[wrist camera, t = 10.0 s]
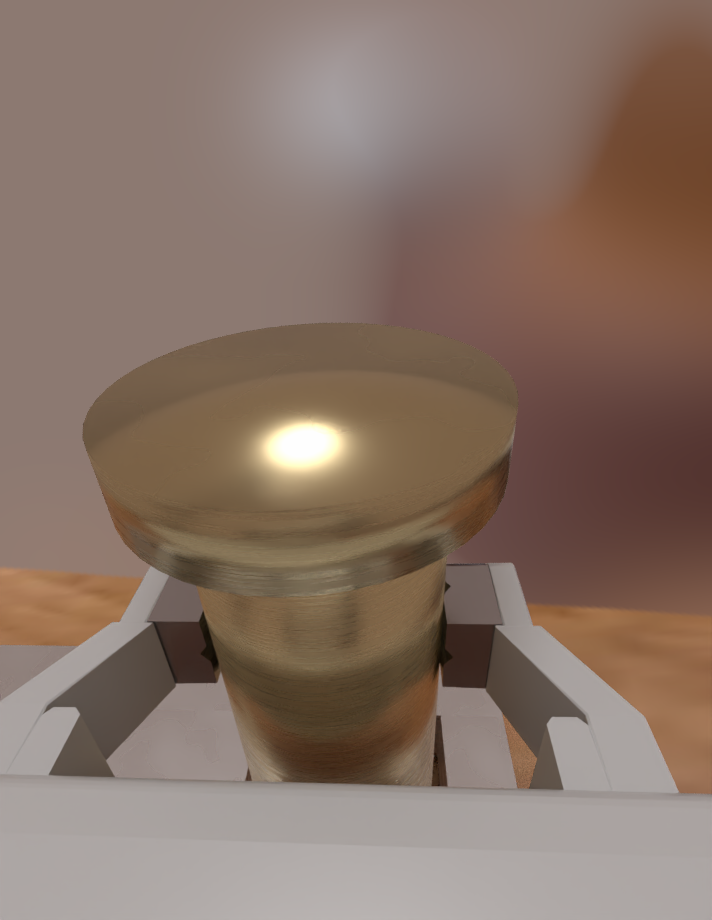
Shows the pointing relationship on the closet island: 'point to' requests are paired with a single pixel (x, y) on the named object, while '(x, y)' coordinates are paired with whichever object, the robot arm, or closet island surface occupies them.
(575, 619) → the closet island surface
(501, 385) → the brass capped peg
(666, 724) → the closet island surface
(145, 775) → the plate
